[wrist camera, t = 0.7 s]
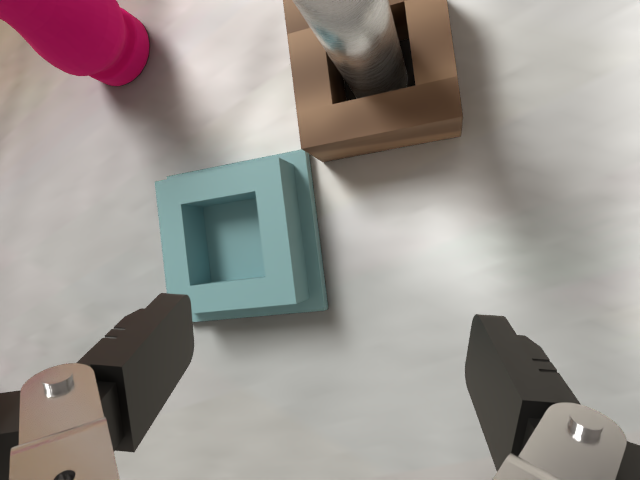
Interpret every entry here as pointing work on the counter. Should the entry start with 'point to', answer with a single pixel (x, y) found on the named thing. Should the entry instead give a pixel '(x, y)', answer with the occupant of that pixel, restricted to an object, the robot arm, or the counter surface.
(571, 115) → the counter surface
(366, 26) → the axle
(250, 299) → the socket
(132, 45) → the pepper mill
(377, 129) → the bore block
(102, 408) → the robot arm
